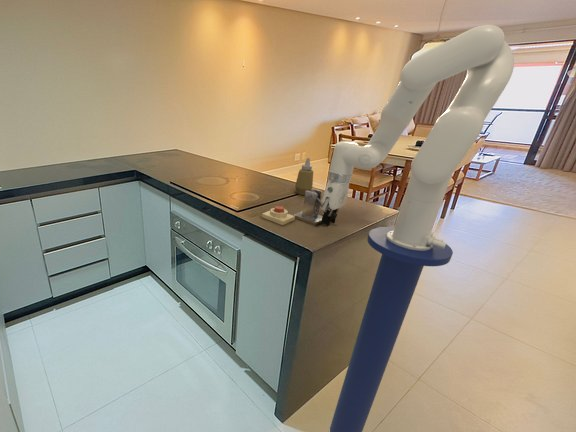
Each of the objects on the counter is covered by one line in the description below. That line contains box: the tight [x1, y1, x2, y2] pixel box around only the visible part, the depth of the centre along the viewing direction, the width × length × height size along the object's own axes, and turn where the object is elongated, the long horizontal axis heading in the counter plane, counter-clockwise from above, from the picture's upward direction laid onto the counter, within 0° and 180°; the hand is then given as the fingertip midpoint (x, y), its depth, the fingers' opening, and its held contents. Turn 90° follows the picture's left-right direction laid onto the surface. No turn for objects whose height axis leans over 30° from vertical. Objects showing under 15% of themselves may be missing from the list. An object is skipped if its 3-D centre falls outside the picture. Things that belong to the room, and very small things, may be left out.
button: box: [274, 205, 285, 213], centre depth 117 cm, size 4×4×2 cm
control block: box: [261, 207, 296, 226], centre depth 118 cm, size 10×8×4 cm
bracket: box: [292, 188, 324, 226], centre depth 117 cm, size 10×8×12 cm
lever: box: [311, 190, 337, 219], centre depth 113 cm, size 13×3×3 cm
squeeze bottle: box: [294, 157, 314, 196], centre depth 144 cm, size 8×8×18 cm
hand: (327, 222), depth 113 cm, fingers closed on lever, 3 cm apart
